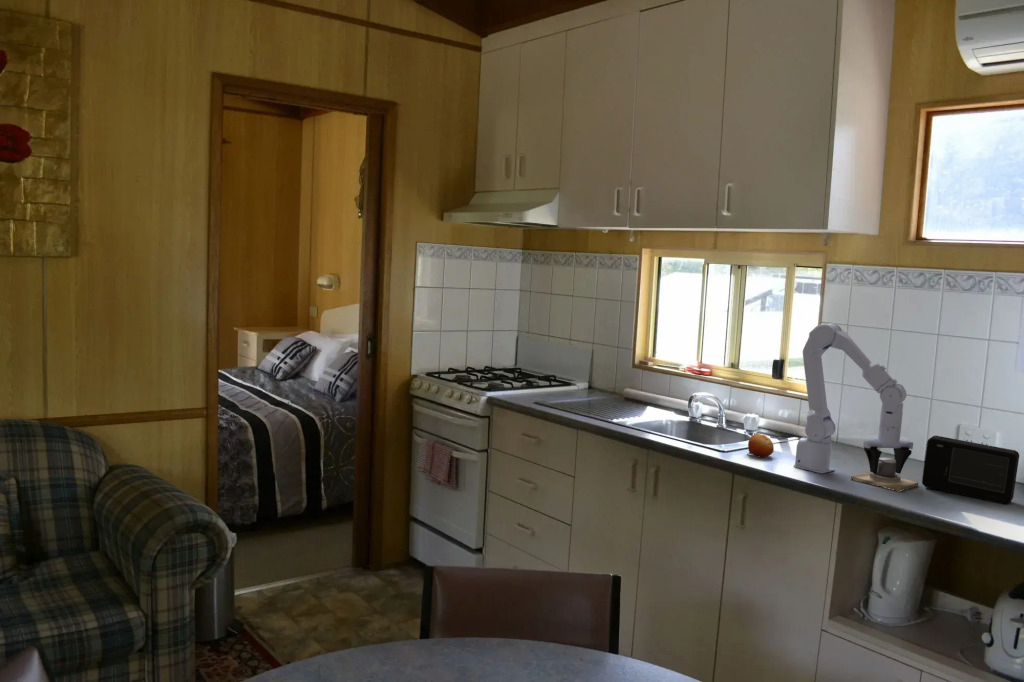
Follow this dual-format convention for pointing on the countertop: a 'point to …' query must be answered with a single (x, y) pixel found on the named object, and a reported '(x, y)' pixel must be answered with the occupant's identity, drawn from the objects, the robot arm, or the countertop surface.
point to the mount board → (885, 481)
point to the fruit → (760, 446)
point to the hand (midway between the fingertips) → (885, 472)
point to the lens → (886, 467)
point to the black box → (970, 469)
